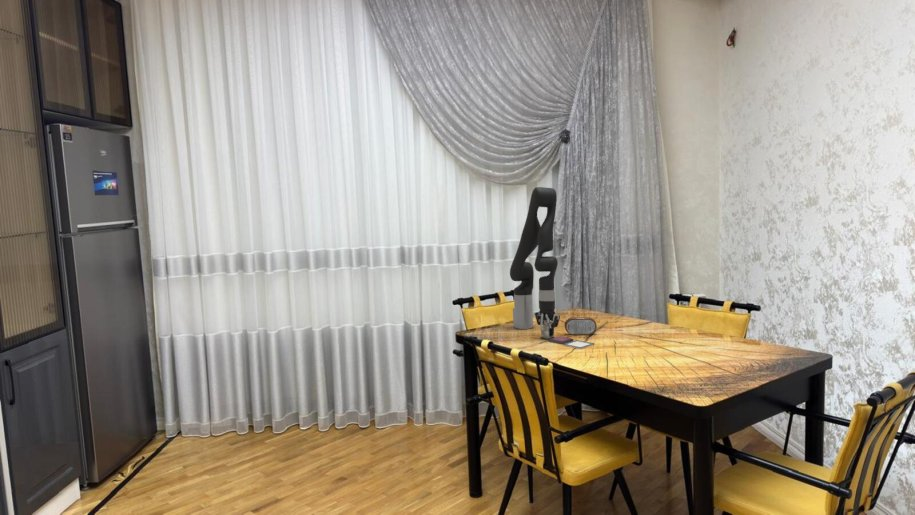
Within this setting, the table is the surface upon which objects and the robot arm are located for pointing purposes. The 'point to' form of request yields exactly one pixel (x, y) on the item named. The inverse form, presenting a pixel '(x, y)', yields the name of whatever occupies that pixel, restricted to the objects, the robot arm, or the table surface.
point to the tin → (580, 326)
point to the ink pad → (561, 340)
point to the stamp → (545, 331)
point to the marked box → (579, 344)
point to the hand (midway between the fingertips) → (547, 334)
